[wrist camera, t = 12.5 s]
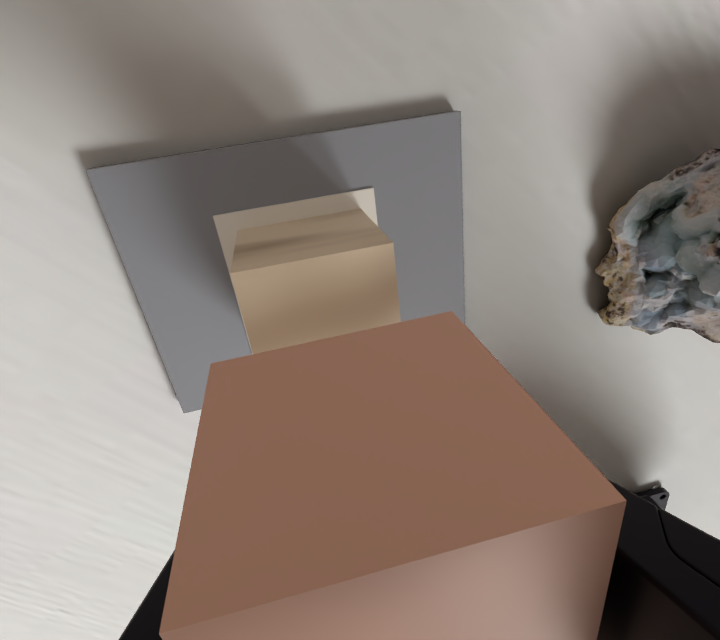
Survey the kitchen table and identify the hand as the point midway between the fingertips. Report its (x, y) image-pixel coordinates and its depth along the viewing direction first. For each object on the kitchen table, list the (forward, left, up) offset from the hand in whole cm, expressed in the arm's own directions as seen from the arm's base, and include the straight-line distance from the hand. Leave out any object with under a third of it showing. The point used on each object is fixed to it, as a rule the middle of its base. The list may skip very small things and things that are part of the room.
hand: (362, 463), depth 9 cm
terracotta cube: (0, 0, -1) cm, 1 cm away
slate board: (0, 0, -12) cm, 12 cm away
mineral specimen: (-1, -19, -12) cm, 22 cm away
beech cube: (0, 0, -11) cm, 11 cm away
